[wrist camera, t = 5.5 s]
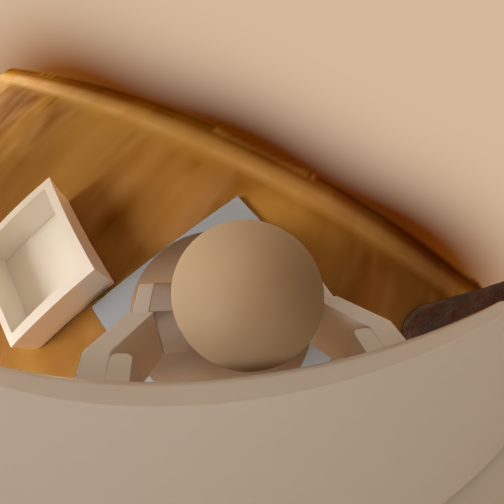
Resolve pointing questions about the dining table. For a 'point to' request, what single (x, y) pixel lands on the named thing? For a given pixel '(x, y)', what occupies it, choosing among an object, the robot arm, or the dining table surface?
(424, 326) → the candle
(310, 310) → the lid
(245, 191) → the dining table surface
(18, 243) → the dish
